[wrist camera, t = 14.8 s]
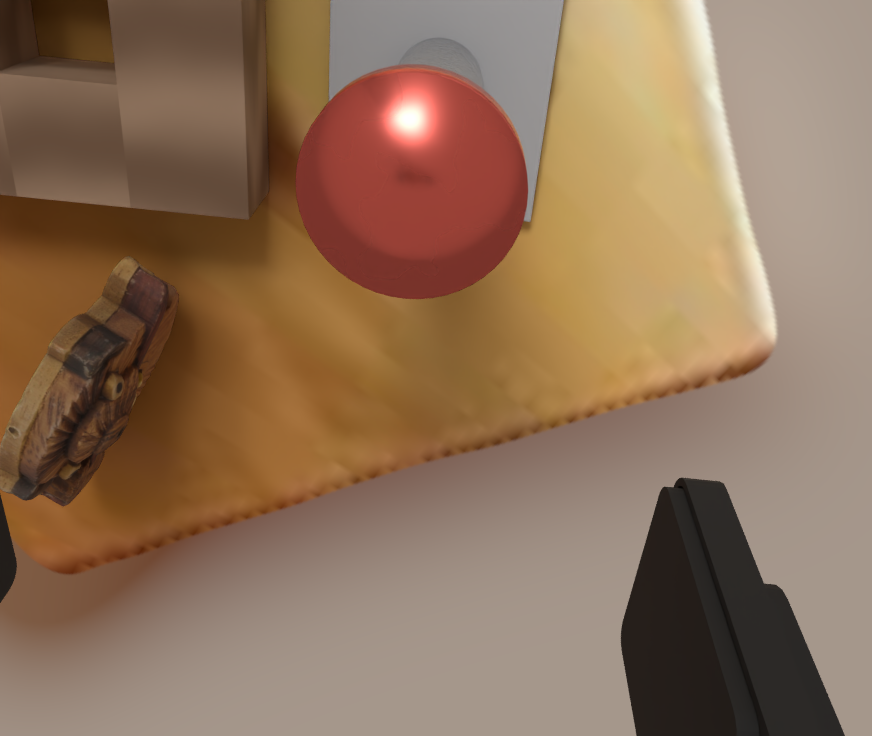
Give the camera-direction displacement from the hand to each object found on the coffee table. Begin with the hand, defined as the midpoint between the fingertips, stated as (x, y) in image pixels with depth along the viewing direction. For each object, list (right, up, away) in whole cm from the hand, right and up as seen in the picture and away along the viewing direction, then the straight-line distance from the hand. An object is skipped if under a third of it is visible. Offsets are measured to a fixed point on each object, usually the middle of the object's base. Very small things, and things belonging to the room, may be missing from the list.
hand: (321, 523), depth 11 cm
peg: (+2, +15, +26) cm, 30 cm away
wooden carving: (-15, +3, +35) cm, 38 cm away
